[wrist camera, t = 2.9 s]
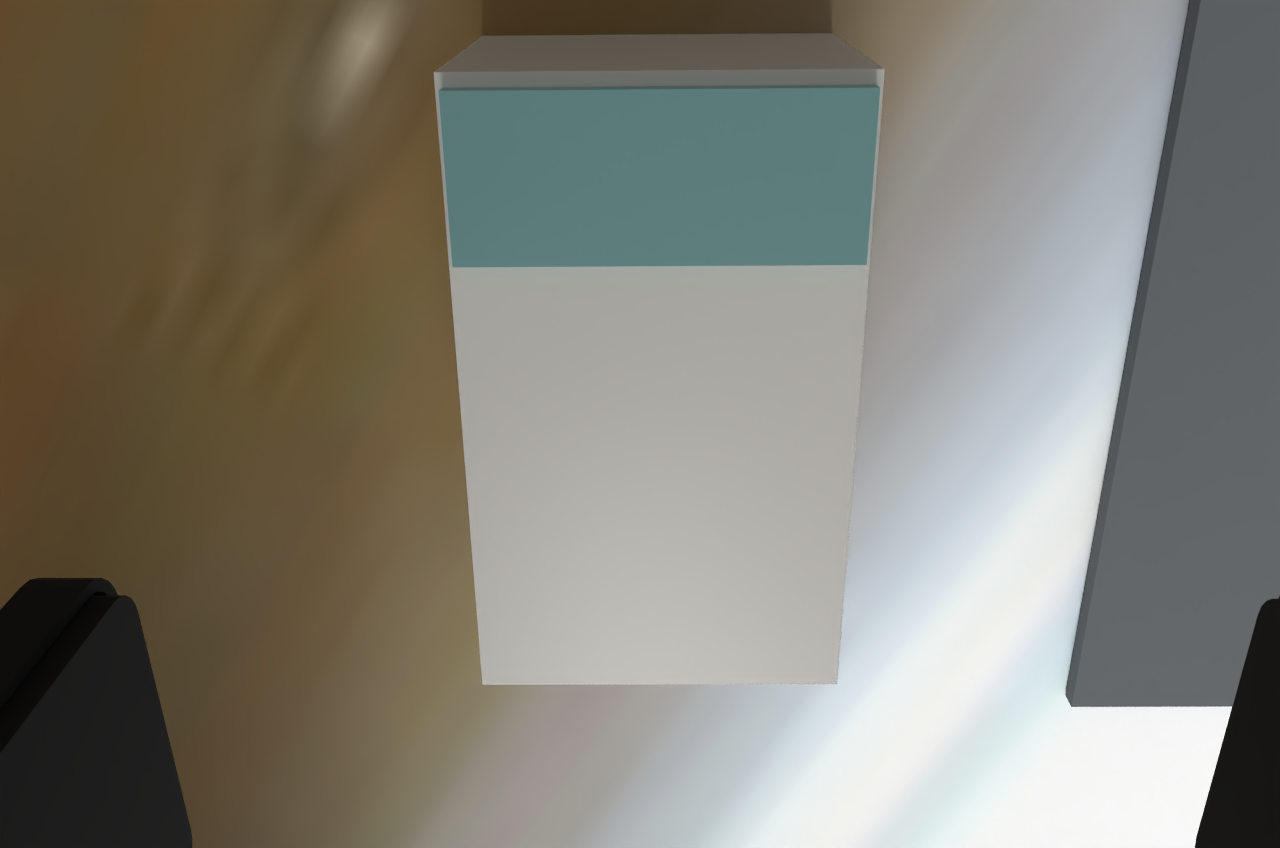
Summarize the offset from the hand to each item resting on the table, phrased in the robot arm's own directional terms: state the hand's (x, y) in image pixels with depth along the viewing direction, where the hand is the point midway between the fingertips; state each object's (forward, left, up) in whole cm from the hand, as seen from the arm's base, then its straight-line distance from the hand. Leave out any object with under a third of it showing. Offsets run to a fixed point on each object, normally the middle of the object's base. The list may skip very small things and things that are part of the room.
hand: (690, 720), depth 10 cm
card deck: (-1, 0, -13) cm, 13 cm away
